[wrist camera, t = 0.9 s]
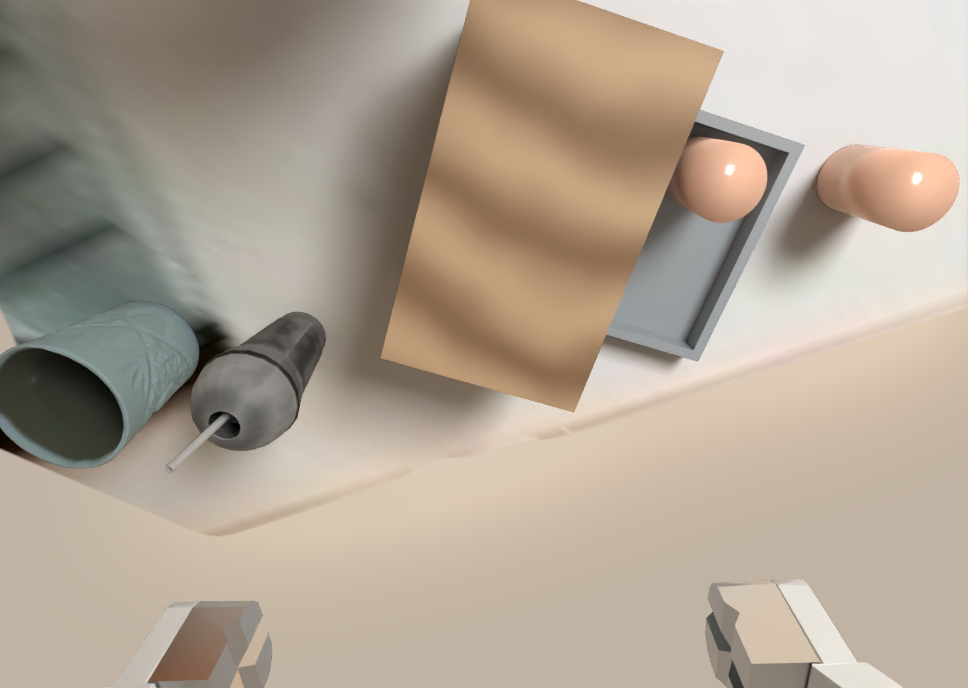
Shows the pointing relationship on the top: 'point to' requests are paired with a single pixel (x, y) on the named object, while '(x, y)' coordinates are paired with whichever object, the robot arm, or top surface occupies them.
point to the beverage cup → (255, 386)
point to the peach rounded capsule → (889, 186)
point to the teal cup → (94, 382)
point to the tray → (698, 254)
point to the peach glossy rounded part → (718, 179)
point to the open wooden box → (541, 192)
